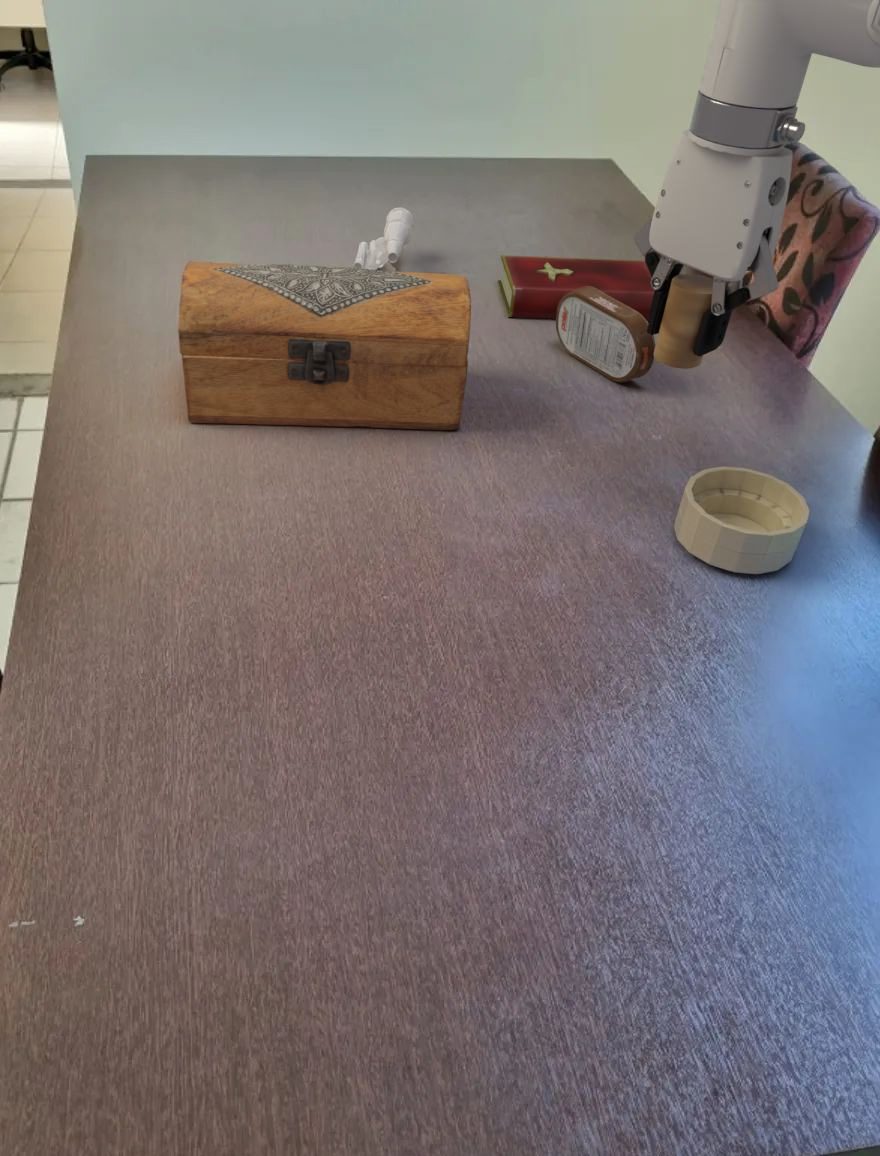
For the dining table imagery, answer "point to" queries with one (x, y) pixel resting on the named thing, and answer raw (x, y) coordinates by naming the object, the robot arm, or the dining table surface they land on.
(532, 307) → the hardcover book
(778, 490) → the bowl
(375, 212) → the dining table surface
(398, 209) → the toy cannon
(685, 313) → the wooden cylinder
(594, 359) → the tin
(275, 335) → the wooden box
